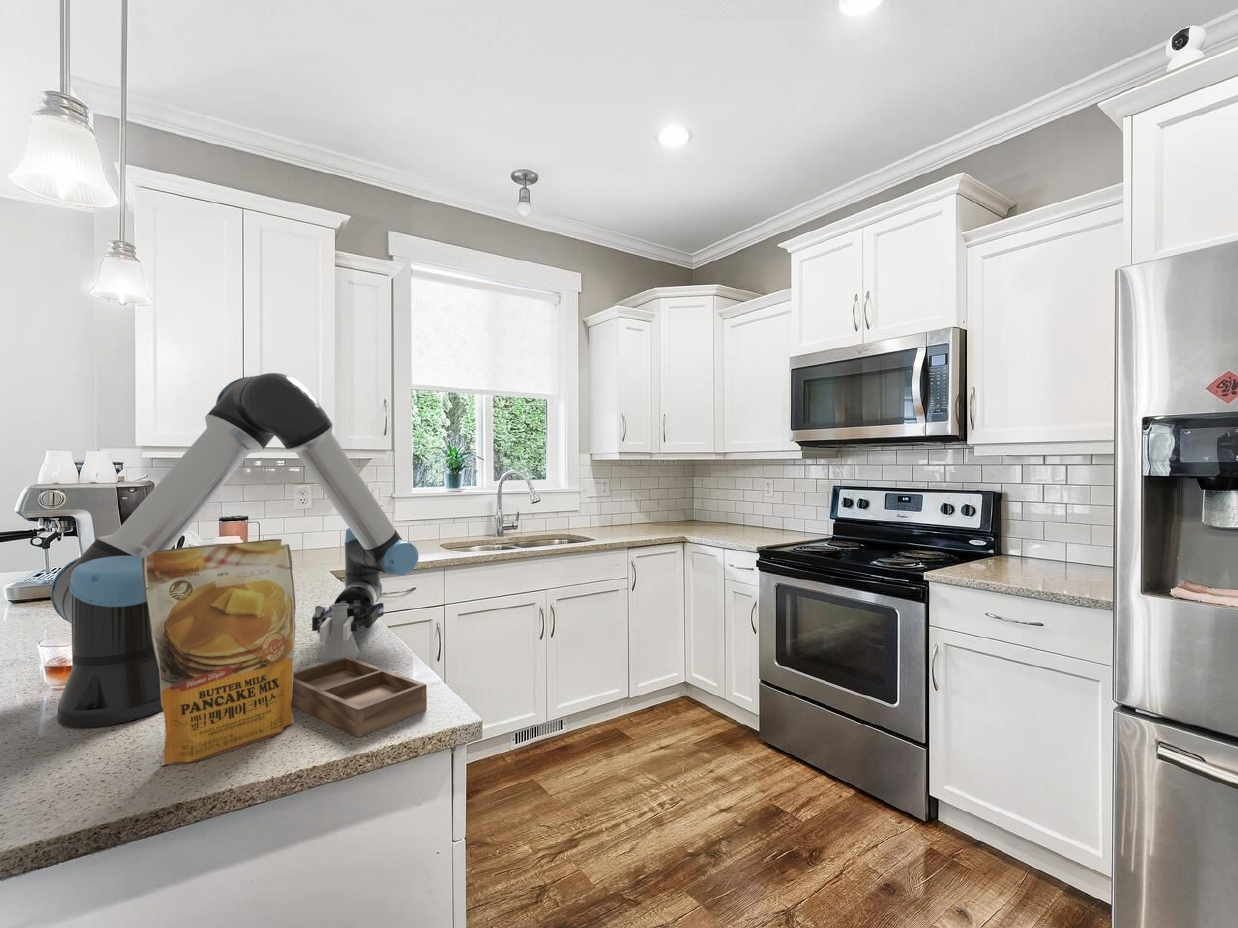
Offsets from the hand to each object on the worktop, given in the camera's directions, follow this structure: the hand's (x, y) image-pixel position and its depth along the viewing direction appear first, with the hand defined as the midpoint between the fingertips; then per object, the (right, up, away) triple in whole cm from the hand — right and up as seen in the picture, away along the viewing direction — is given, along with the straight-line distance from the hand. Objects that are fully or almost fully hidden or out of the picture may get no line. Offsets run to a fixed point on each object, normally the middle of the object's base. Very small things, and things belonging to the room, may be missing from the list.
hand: (333, 633), depth 109 cm
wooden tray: (+9, -8, -12) cm, 17 cm away
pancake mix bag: (-3, -9, -24) cm, 26 cm away
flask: (-1, -6, +5) cm, 8 cm away
